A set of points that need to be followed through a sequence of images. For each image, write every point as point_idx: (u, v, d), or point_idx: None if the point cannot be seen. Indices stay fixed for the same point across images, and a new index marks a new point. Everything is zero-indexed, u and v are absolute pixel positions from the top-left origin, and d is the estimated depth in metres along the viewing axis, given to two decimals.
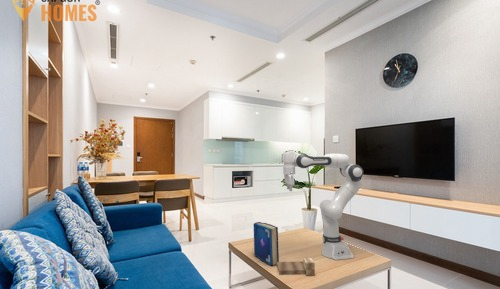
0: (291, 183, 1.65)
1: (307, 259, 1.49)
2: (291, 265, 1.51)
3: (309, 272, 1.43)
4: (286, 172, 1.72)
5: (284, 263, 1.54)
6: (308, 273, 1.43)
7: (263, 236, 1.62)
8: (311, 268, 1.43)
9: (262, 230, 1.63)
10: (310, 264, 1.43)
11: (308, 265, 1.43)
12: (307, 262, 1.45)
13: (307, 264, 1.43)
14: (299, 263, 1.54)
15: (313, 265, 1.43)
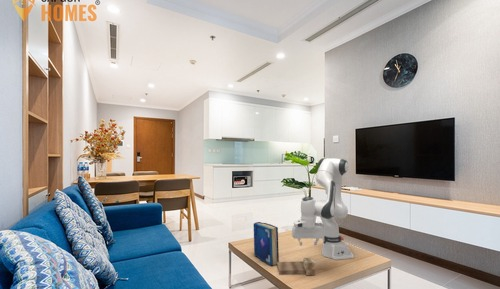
0: None
1: (307, 259, 1.49)
2: (291, 265, 1.51)
3: (309, 272, 1.43)
4: (314, 224, 1.46)
5: (284, 263, 1.54)
6: (308, 273, 1.43)
7: (263, 236, 1.62)
8: (311, 268, 1.43)
9: (262, 230, 1.63)
10: (310, 264, 1.43)
11: (308, 265, 1.43)
12: (307, 262, 1.45)
13: (307, 264, 1.43)
14: (299, 263, 1.54)
15: (313, 265, 1.43)
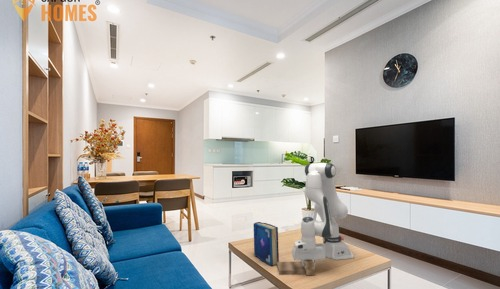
0: None
1: None
2: (291, 265, 1.51)
3: (309, 272, 1.43)
4: (314, 245, 1.45)
5: (284, 263, 1.54)
6: (308, 273, 1.43)
7: (263, 236, 1.62)
8: (311, 268, 1.43)
9: (262, 230, 1.63)
10: (310, 264, 1.43)
11: (308, 265, 1.43)
12: (307, 262, 1.45)
13: (307, 264, 1.43)
14: (299, 263, 1.54)
15: (313, 265, 1.43)
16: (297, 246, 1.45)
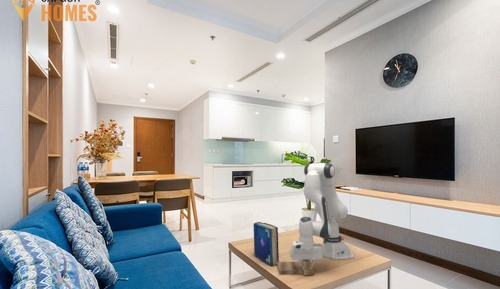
0: None
1: None
2: (291, 265, 1.51)
3: (307, 272, 1.43)
4: (312, 245, 1.45)
5: (284, 263, 1.54)
6: (306, 273, 1.43)
7: (263, 236, 1.62)
8: (309, 268, 1.43)
9: (262, 230, 1.63)
10: (308, 264, 1.43)
11: (306, 265, 1.43)
12: (305, 262, 1.44)
13: (305, 264, 1.43)
14: (299, 263, 1.54)
15: (311, 265, 1.43)
16: (295, 246, 1.44)
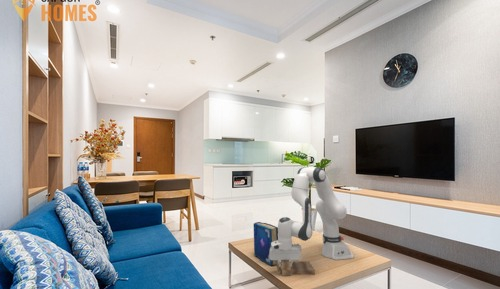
0: None
1: None
2: None
3: (285, 272, 1.43)
4: (291, 246, 1.45)
5: None
6: (284, 273, 1.43)
7: (263, 236, 1.62)
8: (287, 268, 1.43)
9: (262, 230, 1.63)
10: (286, 264, 1.43)
11: (284, 265, 1.43)
12: (283, 262, 1.44)
13: (283, 264, 1.43)
14: (299, 263, 1.54)
15: (289, 265, 1.43)
16: (273, 246, 1.44)
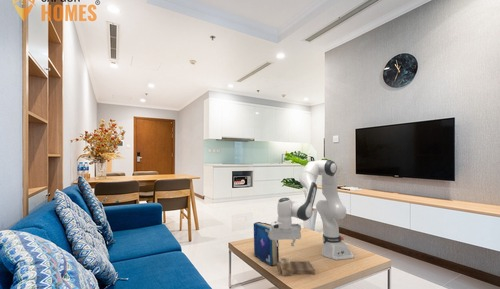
0: None
1: (284, 259, 1.48)
2: (291, 265, 1.51)
3: (285, 272, 1.43)
4: (290, 225, 1.45)
5: None
6: (284, 273, 1.43)
7: (263, 236, 1.62)
8: (287, 268, 1.43)
9: (262, 230, 1.63)
10: (286, 264, 1.43)
11: (284, 265, 1.43)
12: (283, 262, 1.44)
13: (283, 264, 1.43)
14: (299, 263, 1.54)
15: (289, 265, 1.43)
16: (273, 226, 1.45)
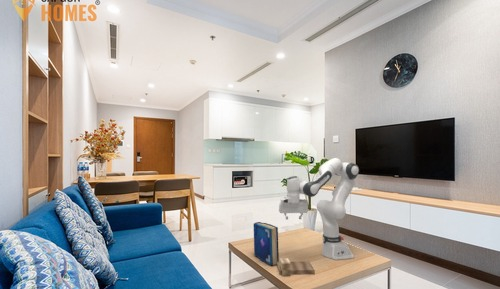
0: None
1: (284, 259, 1.48)
2: (291, 265, 1.51)
3: (285, 272, 1.43)
4: (298, 200, 1.62)
5: None
6: (284, 273, 1.43)
7: (263, 236, 1.62)
8: (287, 268, 1.43)
9: (262, 230, 1.63)
10: (286, 264, 1.43)
11: (284, 265, 1.43)
12: (283, 262, 1.44)
13: (283, 264, 1.43)
14: (299, 263, 1.54)
15: (289, 265, 1.43)
16: (283, 200, 1.61)
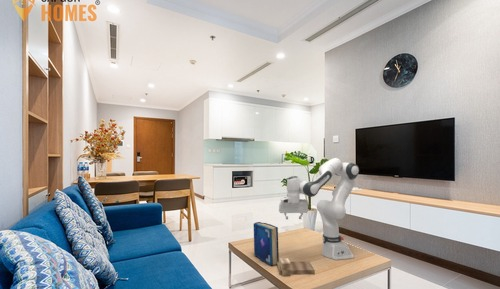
0: None
1: (284, 259, 1.48)
2: (291, 265, 1.51)
3: (285, 272, 1.43)
4: (298, 200, 1.62)
5: None
6: (284, 273, 1.43)
7: (263, 236, 1.62)
8: (287, 268, 1.43)
9: (262, 230, 1.63)
10: (286, 264, 1.43)
11: (284, 265, 1.43)
12: (283, 262, 1.44)
13: (283, 264, 1.43)
14: (299, 263, 1.54)
15: (289, 265, 1.43)
16: (283, 200, 1.61)
